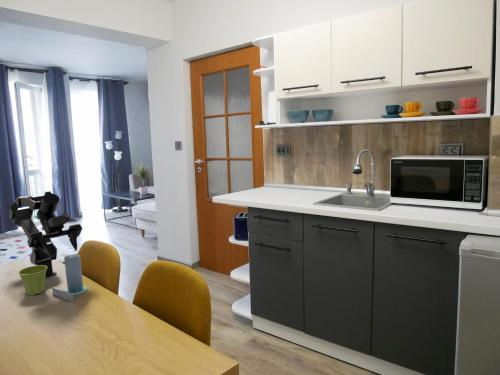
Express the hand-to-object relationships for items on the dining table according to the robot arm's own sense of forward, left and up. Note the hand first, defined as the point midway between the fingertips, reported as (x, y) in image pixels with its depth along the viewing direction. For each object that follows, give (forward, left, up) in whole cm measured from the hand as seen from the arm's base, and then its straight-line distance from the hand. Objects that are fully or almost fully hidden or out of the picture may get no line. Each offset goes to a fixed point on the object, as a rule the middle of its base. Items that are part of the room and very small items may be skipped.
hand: (64, 252), depth 141 cm
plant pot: (-7, -9, -14) cm, 18 cm away
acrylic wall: (+7, -6, -14) cm, 16 cm away
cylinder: (+6, -1, -13) cm, 15 cm away
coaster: (+6, -1, -14) cm, 15 cm away
